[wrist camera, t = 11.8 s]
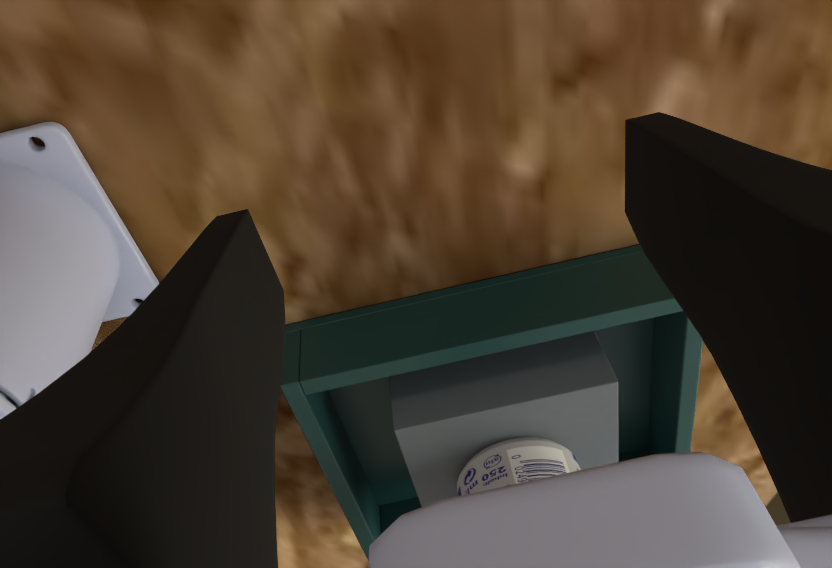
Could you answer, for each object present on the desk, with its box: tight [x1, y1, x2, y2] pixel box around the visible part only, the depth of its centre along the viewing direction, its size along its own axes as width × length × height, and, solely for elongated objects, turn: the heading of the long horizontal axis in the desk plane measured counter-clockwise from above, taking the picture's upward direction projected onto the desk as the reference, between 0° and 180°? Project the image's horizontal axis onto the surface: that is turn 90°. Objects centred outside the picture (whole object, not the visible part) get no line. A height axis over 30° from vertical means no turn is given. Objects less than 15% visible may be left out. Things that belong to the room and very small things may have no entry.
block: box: [388, 331, 618, 507], centre depth 30 cm, size 9×9×4 cm
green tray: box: [280, 245, 703, 561], centre depth 30 cm, size 17×15×4 cm
